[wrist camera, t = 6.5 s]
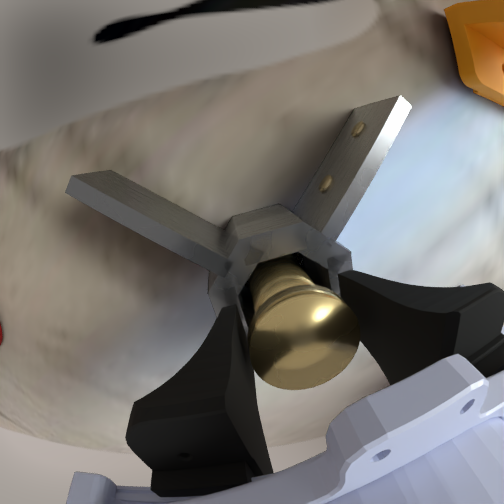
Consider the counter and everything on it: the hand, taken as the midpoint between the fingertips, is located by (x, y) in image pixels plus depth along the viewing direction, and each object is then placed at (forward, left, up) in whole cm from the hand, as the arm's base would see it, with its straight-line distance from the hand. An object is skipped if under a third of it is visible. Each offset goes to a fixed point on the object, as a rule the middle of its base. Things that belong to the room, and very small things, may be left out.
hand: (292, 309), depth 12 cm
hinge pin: (0, 0, -5) cm, 5 cm away
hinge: (+4, -3, -6) cm, 8 cm away
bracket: (-6, -26, -6) cm, 27 cm away
